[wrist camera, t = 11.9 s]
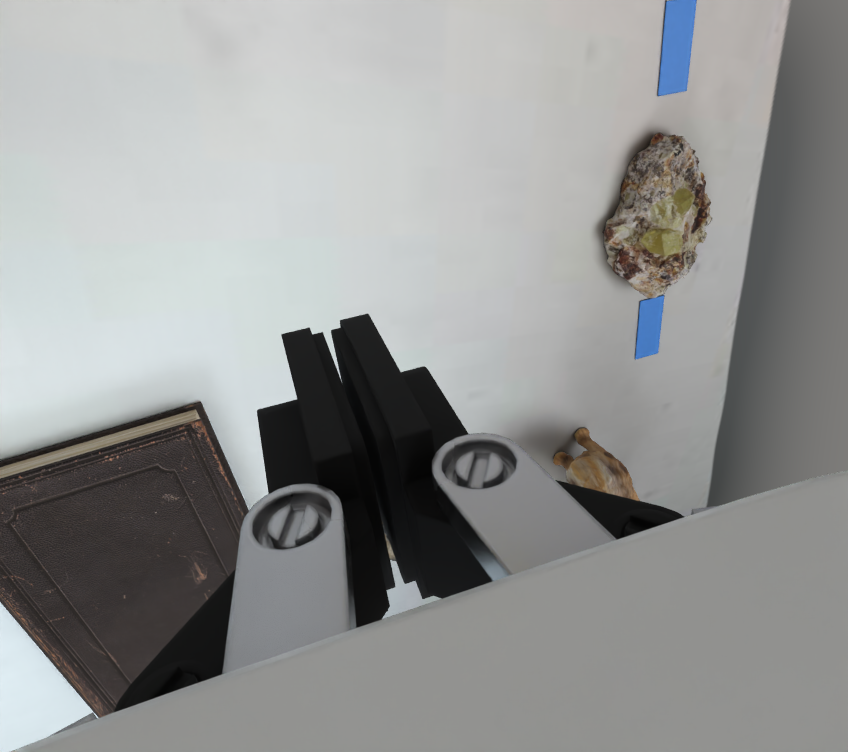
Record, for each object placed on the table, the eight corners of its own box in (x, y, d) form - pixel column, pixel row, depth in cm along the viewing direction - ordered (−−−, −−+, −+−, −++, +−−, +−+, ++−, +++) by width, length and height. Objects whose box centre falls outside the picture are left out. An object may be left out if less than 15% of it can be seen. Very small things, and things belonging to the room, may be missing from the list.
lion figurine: (512, 449, 49) (568, 528, 42) (560, 402, 48) (626, 474, 41) (606, 519, 57) (667, 595, 50) (649, 480, 56) (717, 552, 49)
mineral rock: (723, 281, 44) (645, 319, 41) (671, 266, 47) (595, 300, 44) (742, 120, 38) (655, 149, 35) (682, 116, 42) (596, 143, 38)
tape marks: (665, 1, 35) (666, 1, 35) (695, -4, 36) (697, -4, 36) (634, 359, 48) (635, 359, 48) (657, 352, 49) (658, 353, 49)
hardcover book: (200, 401, 39) (200, 421, 37) (298, 622, 51) (301, 646, 50) (-75, 482, 36) (-90, 508, 34) (99, 695, 49) (95, 722, 47)
